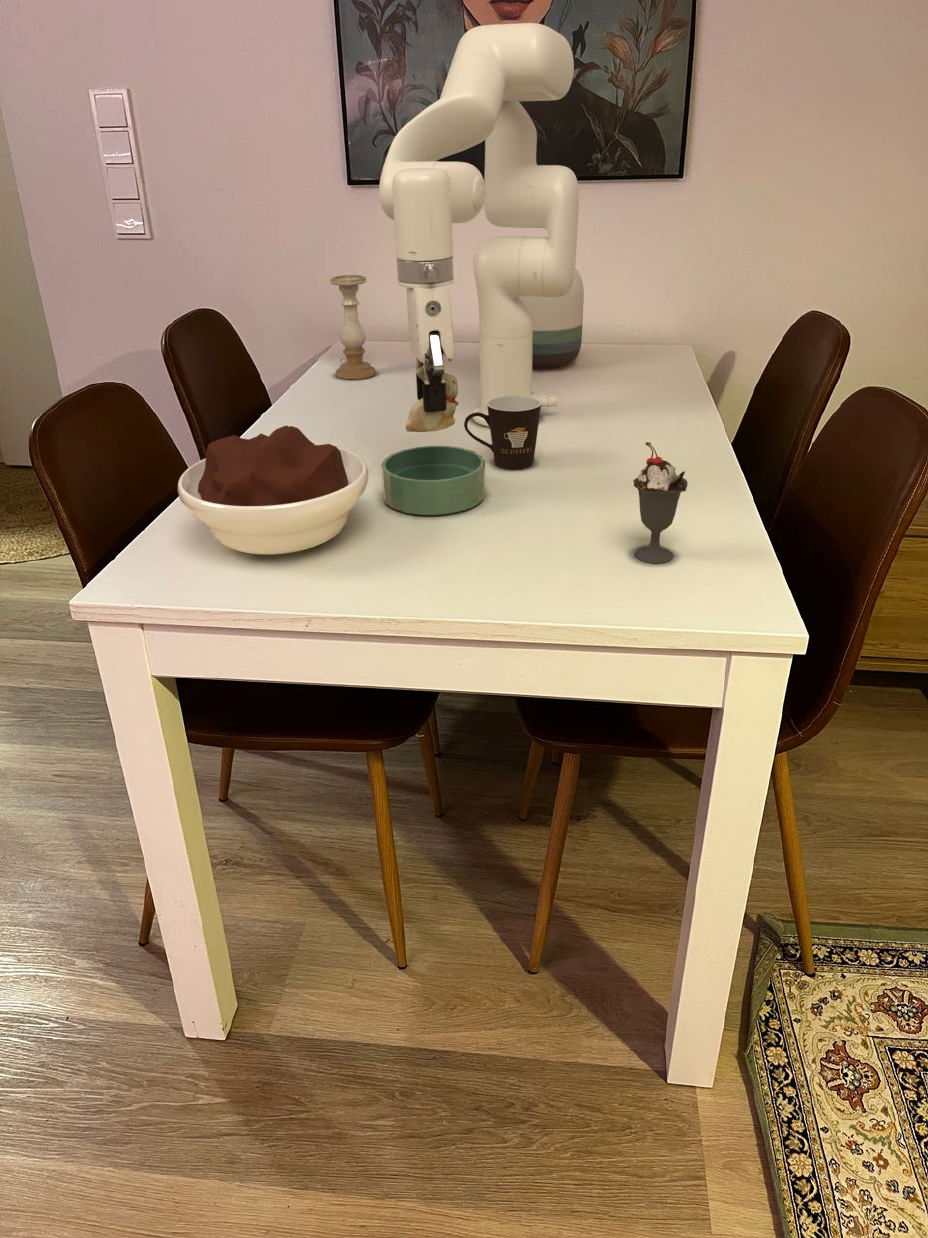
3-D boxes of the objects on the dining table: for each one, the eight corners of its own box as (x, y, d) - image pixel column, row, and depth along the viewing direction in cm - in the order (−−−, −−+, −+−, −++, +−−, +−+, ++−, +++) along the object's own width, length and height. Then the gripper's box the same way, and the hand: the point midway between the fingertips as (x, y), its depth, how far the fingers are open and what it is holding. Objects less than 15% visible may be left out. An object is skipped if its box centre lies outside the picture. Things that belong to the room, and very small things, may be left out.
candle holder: (383, 372, 201) (377, 275, 191) (359, 381, 195) (351, 282, 185) (352, 367, 205) (344, 272, 195) (327, 376, 199) (318, 279, 189)
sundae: (621, 545, 120) (629, 436, 113) (671, 543, 121) (682, 434, 113) (634, 568, 115) (643, 454, 107) (686, 565, 115) (698, 451, 108)
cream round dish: (343, 584, 112) (331, 468, 105) (156, 572, 116) (132, 460, 109) (392, 507, 134) (385, 406, 126) (232, 499, 138) (217, 401, 130)
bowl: (472, 475, 144) (472, 441, 142) (495, 511, 131) (495, 475, 129) (378, 484, 142) (375, 450, 139) (391, 522, 129) (389, 485, 126)
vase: (531, 351, 215) (532, 242, 203) (594, 360, 206) (599, 247, 194) (491, 367, 203) (490, 252, 191) (556, 377, 194) (559, 257, 182)
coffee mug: (545, 456, 151) (547, 397, 146) (532, 474, 144) (533, 412, 139) (479, 450, 154) (478, 392, 150) (463, 467, 147) (461, 407, 142)
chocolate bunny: (461, 430, 129) (459, 360, 124) (406, 433, 129) (402, 363, 124) (458, 418, 134) (456, 350, 129) (405, 421, 134) (401, 352, 129)
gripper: (466, 280, 114) (469, 421, 124) (441, 259, 129) (446, 386, 138) (407, 285, 113) (415, 426, 122) (389, 262, 127) (397, 391, 137)
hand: (431, 404), depth 130 cm, fingers closed on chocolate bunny, 4 cm apart
